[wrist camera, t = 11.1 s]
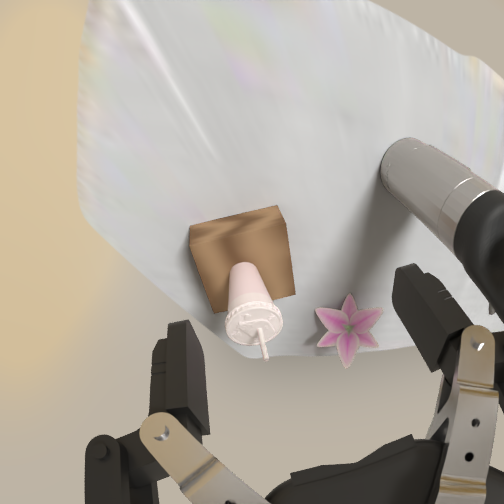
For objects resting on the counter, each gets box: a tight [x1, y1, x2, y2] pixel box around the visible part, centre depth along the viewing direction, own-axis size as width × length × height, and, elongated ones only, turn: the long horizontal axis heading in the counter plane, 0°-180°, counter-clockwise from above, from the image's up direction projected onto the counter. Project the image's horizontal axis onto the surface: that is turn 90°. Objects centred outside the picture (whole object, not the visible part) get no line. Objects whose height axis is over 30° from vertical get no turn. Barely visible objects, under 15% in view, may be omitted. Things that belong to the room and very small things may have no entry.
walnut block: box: [189, 205, 296, 313], centre depth 45 cm, size 12×12×5 cm
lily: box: [315, 294, 383, 369], centre depth 55 cm, size 12×12×10 cm
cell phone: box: [489, 304, 495, 315], centre depth 68 cm, size 6×11×1 cm, turn 123°
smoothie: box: [225, 262, 283, 362], centre depth 37 cm, size 6×6×14 cm
